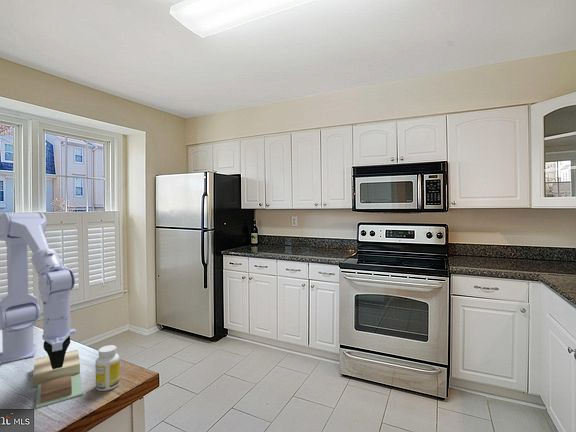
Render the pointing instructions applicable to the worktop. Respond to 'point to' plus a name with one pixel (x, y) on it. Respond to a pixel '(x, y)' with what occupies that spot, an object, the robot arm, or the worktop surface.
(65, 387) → the walnut coaster
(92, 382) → the worktop surface
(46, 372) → the birch board
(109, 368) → the supplement bottle
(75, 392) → the green mat
